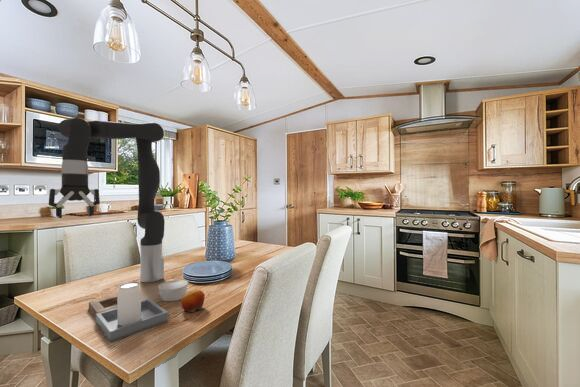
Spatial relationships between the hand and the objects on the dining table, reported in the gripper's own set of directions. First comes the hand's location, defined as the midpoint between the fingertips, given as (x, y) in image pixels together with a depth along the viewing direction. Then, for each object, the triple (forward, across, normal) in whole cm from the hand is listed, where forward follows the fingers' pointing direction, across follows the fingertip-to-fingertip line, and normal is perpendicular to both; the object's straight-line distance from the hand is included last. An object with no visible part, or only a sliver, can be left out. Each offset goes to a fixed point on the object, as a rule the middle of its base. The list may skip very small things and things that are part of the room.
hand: (75, 217), depth 95 cm
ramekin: (+33, -28, +18) cm, 47 cm away
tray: (+33, -10, +28) cm, 44 cm away
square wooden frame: (+33, -9, +12) cm, 36 cm away
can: (+33, -9, +28) cm, 44 cm away
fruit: (+33, -28, +34) cm, 55 cm away
